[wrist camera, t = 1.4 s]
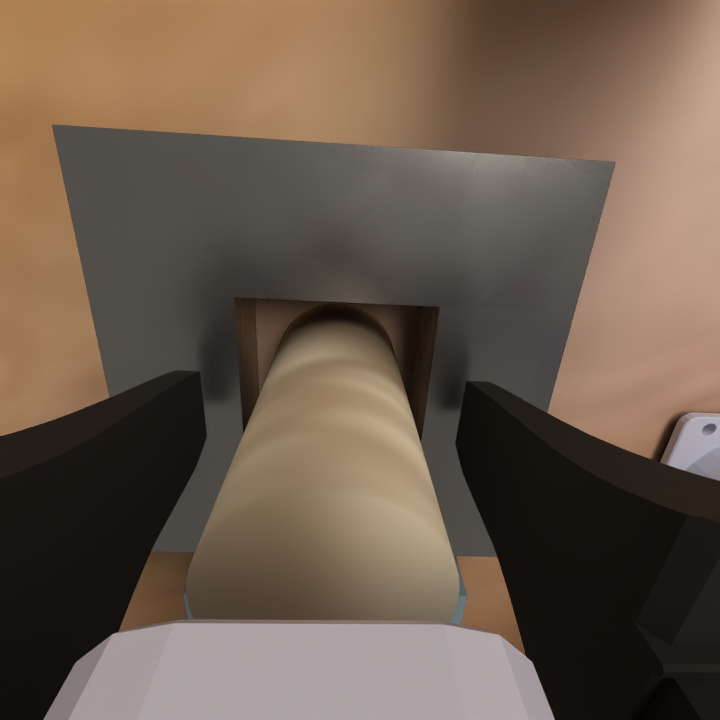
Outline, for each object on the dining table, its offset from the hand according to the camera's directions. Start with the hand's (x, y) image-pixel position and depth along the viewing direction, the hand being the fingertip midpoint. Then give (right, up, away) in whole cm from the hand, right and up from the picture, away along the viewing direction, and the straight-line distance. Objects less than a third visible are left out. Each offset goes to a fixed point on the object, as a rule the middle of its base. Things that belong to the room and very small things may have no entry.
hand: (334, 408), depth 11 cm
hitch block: (0, +1, +3) cm, 3 cm away
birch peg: (0, +1, +3) cm, 3 cm away
